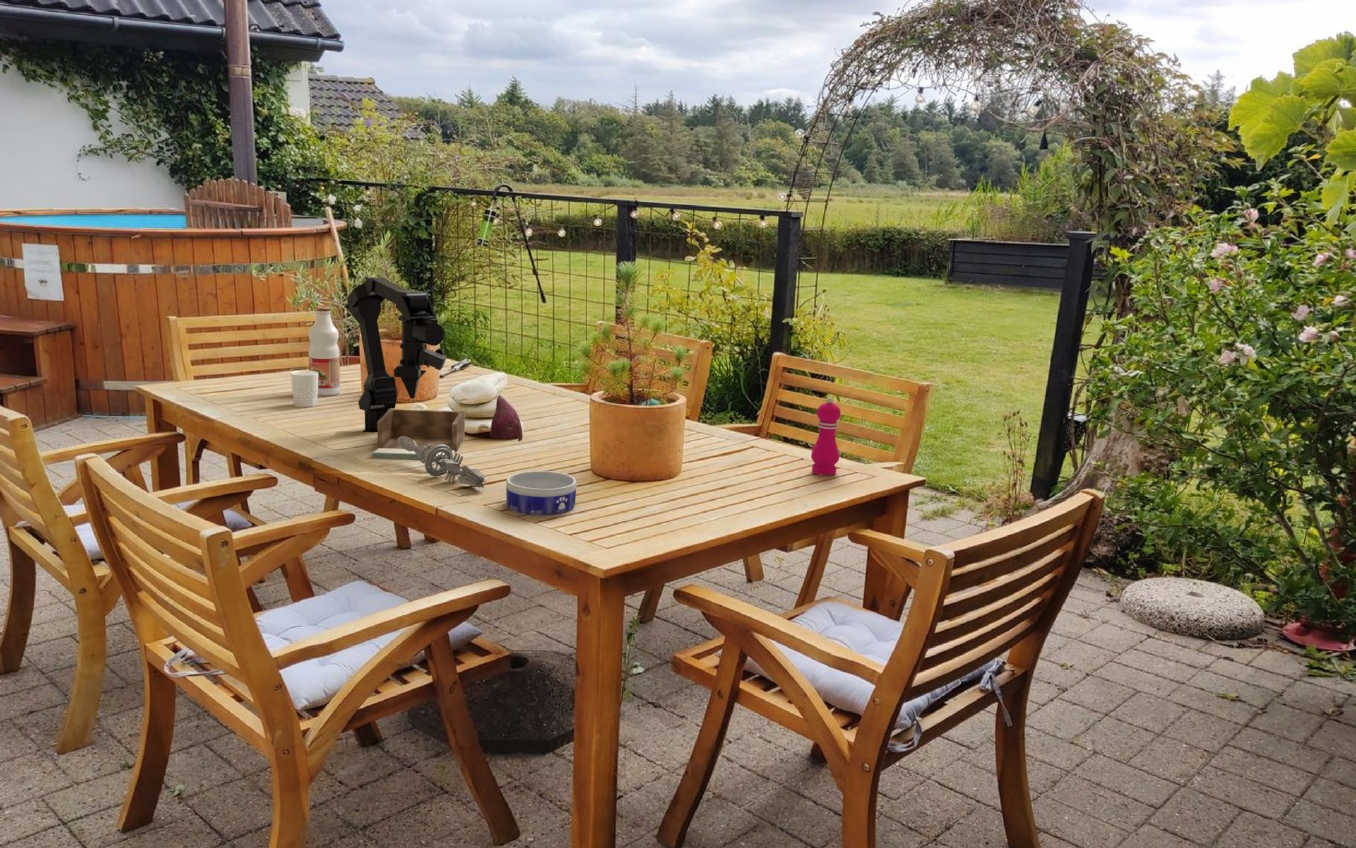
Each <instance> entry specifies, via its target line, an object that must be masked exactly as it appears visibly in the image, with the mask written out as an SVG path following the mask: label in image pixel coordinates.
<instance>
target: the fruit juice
mask: <svg viewBox="0 0 1356 848" xmlns="http://www.w3.org/2000/svg"><path fill="white" fill-rule="evenodd" d="M314 312H315V320H314V323H313V324H312V326H311V327H310V329H309V330H308V340H309V342H310V343H309V347H308V371H315V372H318V396H322V397H323V396H324V397H325V396H329V397H330V396H335V395H339V394H340V392H341V373H340V366H341V365H340V364H341V363H340V361H341V360H340V348H339V344H338V340H339V337H340V335H339V330H338V329H337V328H336V326H335V325H334V323H333V321H332V317H331V313H332V307H331V306H325V305H324V306H323V305H322V306H320V305H319V306H315V308H314Z"/></svg>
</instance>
